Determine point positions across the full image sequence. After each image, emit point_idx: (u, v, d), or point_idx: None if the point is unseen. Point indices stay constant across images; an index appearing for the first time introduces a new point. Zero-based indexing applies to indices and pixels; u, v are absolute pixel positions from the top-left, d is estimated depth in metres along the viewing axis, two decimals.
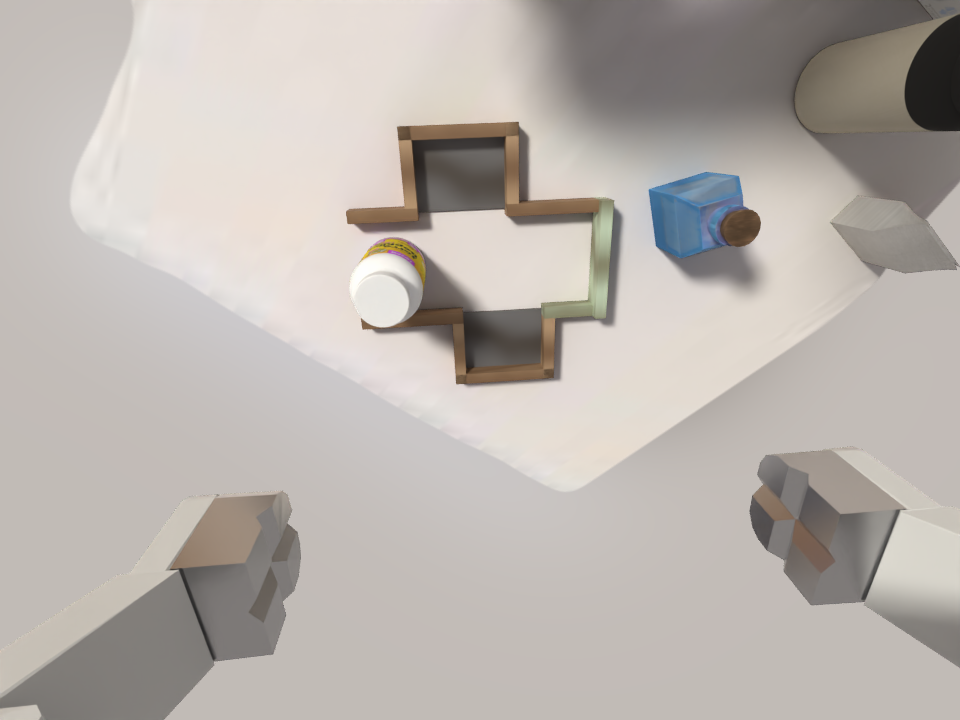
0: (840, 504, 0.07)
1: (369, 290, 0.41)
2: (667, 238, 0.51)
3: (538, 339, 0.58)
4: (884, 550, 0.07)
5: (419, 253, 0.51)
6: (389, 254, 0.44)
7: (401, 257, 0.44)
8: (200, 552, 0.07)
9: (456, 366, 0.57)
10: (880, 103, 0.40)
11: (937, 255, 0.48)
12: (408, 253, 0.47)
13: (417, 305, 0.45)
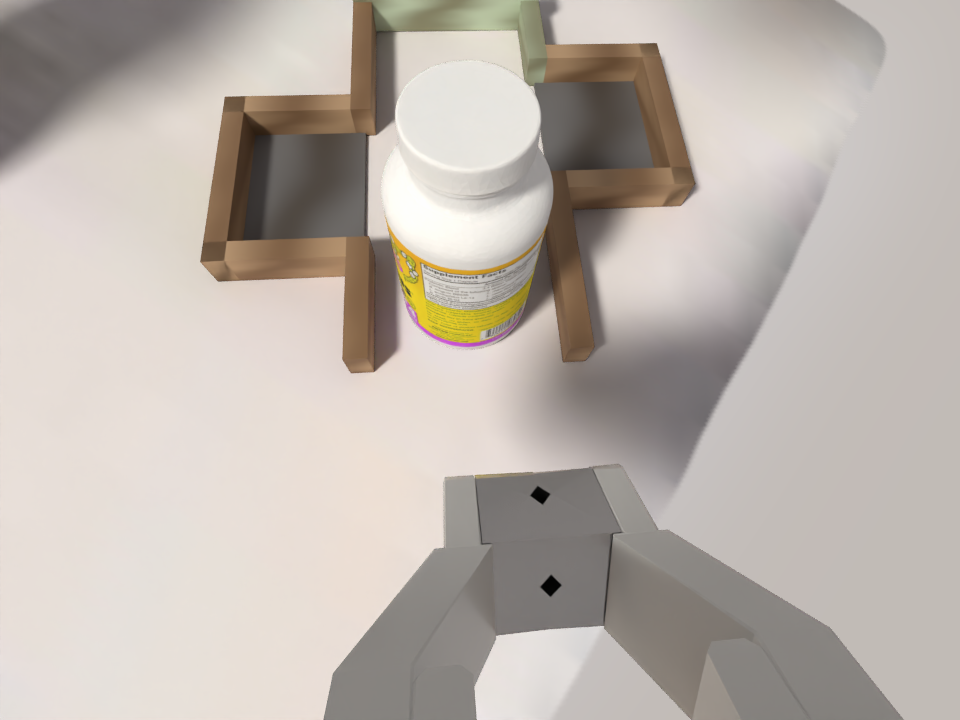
0: (559, 527, 0.07)
1: (435, 134, 0.15)
2: None
3: (590, 85, 0.34)
4: (609, 575, 0.07)
5: None
6: None
7: None
8: (500, 528, 0.07)
9: (656, 182, 0.29)
10: None
11: None
12: None
13: None
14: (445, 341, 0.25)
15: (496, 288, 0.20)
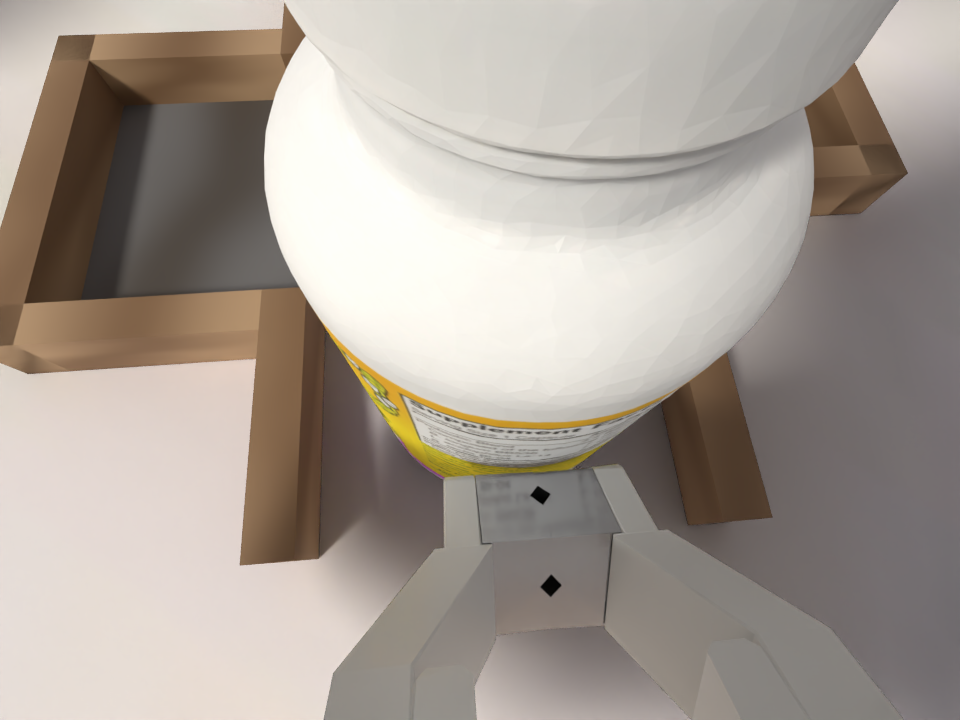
0: (559, 527, 0.07)
1: None
2: None
3: None
4: (609, 575, 0.07)
5: None
6: None
7: None
8: (499, 529, 0.07)
9: (837, 172, 0.16)
10: None
11: None
12: None
13: None
14: None
15: (613, 431, 0.07)
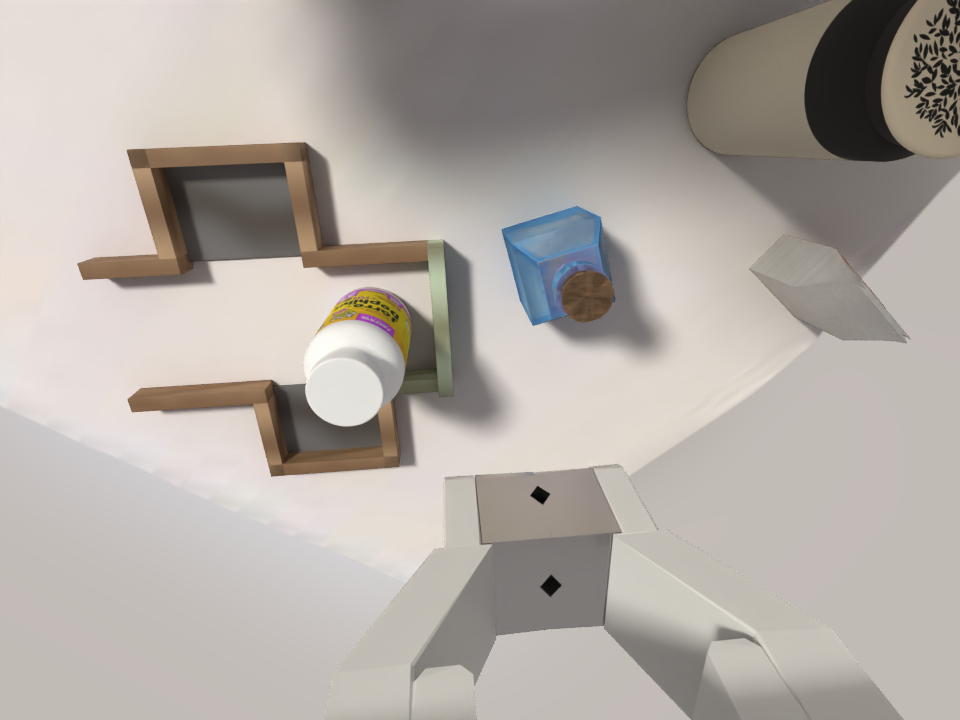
0: (559, 527, 0.07)
1: (327, 378, 0.29)
2: (522, 296, 0.38)
3: (378, 417, 0.45)
4: (609, 575, 0.07)
5: (403, 309, 0.39)
6: (358, 322, 0.32)
7: (375, 326, 0.32)
8: (500, 528, 0.07)
9: (267, 455, 0.44)
10: (777, 118, 0.27)
11: (880, 323, 0.35)
12: (386, 315, 0.35)
13: (396, 389, 0.33)
14: None
15: None
